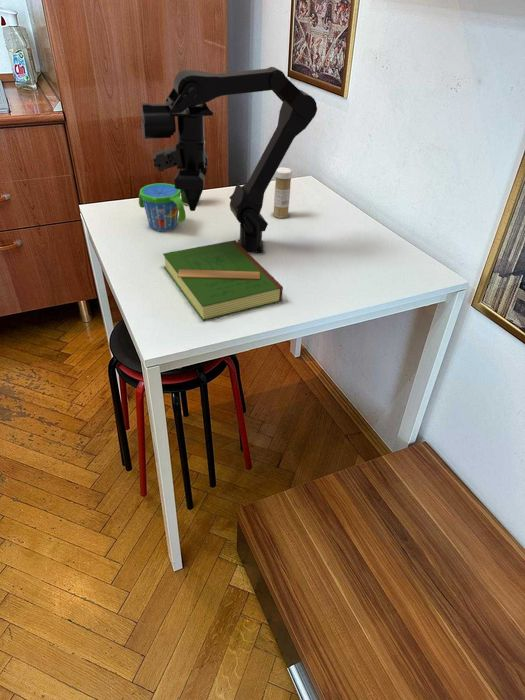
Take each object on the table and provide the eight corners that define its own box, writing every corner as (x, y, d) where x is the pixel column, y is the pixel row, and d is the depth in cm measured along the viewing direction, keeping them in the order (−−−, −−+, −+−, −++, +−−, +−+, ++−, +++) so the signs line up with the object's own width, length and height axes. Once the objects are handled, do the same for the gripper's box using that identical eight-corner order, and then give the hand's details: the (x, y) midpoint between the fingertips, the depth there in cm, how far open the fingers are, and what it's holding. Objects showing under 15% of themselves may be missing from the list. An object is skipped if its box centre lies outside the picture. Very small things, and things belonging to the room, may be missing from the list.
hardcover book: (281, 301, 112) (282, 286, 109) (202, 321, 104) (202, 305, 102) (233, 252, 129) (233, 238, 126) (163, 266, 121) (161, 252, 119)
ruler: (179, 270, 113) (179, 269, 112) (259, 273, 114) (259, 271, 113) (177, 277, 110) (177, 276, 110) (259, 280, 111) (259, 278, 111)
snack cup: (130, 222, 140) (125, 186, 133) (160, 212, 146) (158, 177, 140) (165, 241, 132) (162, 204, 125) (196, 230, 138) (195, 193, 132)
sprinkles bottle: (286, 212, 151) (289, 166, 142) (290, 218, 147) (294, 172, 139) (271, 212, 150) (274, 167, 141) (274, 219, 146) (277, 172, 138)
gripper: (159, 123, 117) (164, 189, 127) (147, 148, 102) (153, 220, 112) (207, 125, 118) (208, 191, 127) (202, 150, 103) (204, 222, 113)
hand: (193, 205), depth 120 cm, fingers open, 6 cm apart
